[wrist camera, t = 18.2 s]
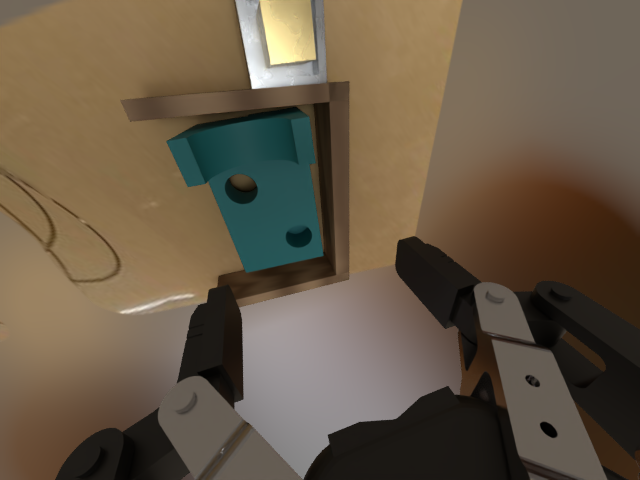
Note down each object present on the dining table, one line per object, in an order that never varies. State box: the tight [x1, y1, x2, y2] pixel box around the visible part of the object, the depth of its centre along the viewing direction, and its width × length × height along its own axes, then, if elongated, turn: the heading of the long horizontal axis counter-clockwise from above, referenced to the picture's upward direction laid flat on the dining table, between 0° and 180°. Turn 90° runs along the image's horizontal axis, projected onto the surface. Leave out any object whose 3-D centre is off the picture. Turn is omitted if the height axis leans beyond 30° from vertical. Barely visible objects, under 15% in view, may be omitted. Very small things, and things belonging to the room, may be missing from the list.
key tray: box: [234, 0, 327, 89], centre depth 23 cm, size 8×8×3 cm
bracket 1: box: [120, 81, 349, 307], centre depth 29 cm, size 19×25×6 cm
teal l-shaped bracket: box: [166, 107, 324, 273], centre depth 27 cm, size 18×11×10 cm, turn 7°
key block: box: [256, 0, 316, 69], centre depth 21 cm, size 4×4×5 cm
